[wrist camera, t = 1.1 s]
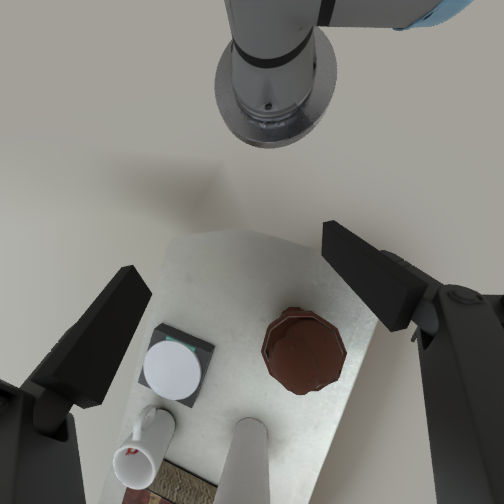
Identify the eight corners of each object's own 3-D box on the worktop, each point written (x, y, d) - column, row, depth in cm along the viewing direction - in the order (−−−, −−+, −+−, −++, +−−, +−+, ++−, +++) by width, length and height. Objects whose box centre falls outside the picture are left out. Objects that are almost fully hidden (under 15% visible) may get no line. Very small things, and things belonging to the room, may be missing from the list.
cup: (143, 389, 38) (108, 428, 30) (177, 391, 37) (151, 431, 29) (147, 437, 38) (114, 487, 30) (182, 440, 37) (157, 493, 29)
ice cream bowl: (278, 357, 34) (281, 447, 19) (257, 302, 34) (243, 349, 19) (333, 340, 32) (384, 425, 17) (311, 283, 32) (342, 319, 17)
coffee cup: (234, 457, 36) (205, 609, 21) (222, 413, 36) (185, 534, 21) (280, 453, 35) (284, 612, 20) (268, 407, 34) (263, 532, 20)
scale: (161, 322, 37) (151, 330, 34) (215, 345, 35) (209, 355, 32) (146, 373, 38) (135, 385, 35) (197, 397, 36) (190, 411, 33)
